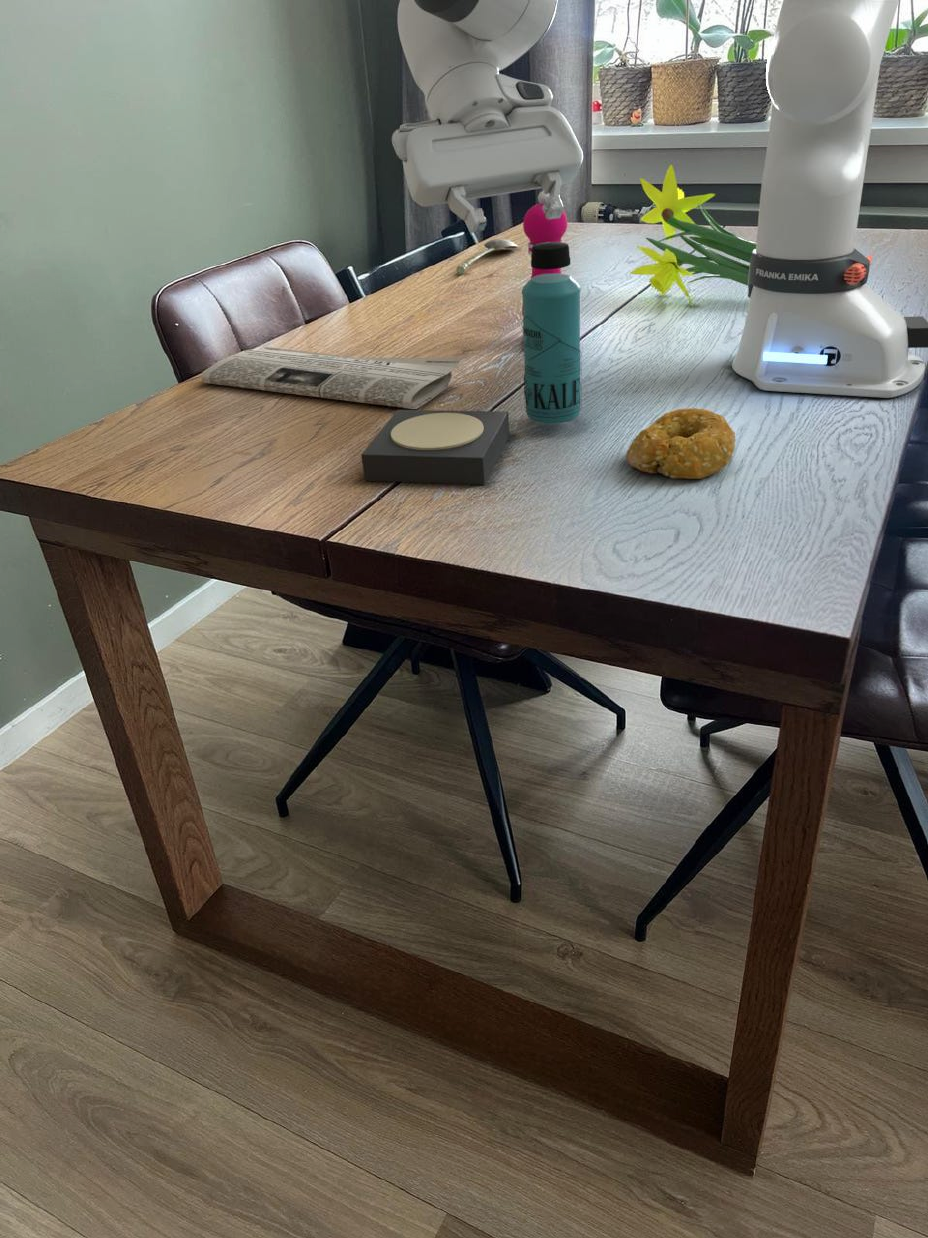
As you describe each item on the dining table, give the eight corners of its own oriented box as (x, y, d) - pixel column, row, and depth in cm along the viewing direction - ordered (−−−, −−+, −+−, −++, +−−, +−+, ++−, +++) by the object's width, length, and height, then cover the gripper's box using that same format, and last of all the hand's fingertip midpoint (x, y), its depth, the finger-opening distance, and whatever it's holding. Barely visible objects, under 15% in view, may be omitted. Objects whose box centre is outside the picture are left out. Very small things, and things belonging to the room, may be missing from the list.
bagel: (616, 450, 102) (617, 407, 99) (717, 440, 102) (721, 397, 99) (637, 488, 93) (638, 443, 91) (747, 478, 94) (751, 432, 91)
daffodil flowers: (810, 334, 133) (588, 255, 143) (809, 359, 147) (607, 285, 157) (866, 218, 130) (636, 145, 141) (860, 254, 144) (652, 186, 155)
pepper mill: (570, 347, 133) (568, 194, 123) (519, 348, 135) (513, 196, 124) (575, 332, 139) (574, 184, 129) (527, 333, 141) (521, 187, 130)
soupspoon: (523, 252, 190) (494, 253, 193) (522, 234, 189) (493, 235, 192) (475, 274, 174) (444, 275, 177) (473, 255, 172) (442, 255, 175)
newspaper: (203, 385, 131) (197, 360, 129) (260, 358, 140) (255, 334, 138) (421, 413, 116) (418, 385, 114) (469, 380, 124) (467, 354, 123)
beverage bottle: (546, 412, 113) (541, 234, 102) (593, 422, 109) (593, 238, 98) (513, 430, 109) (505, 247, 98) (561, 441, 105) (558, 252, 94)
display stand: (509, 436, 107) (508, 408, 106) (484, 485, 97) (482, 455, 95) (400, 434, 110) (397, 406, 109) (364, 480, 100) (360, 451, 98)
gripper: (391, 104, 99) (437, 216, 97) (561, 84, 105) (608, 188, 103) (381, 148, 105) (424, 255, 102) (543, 126, 111) (587, 226, 109)
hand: (518, 221), depth 103 cm, fingers open, 8 cm apart
